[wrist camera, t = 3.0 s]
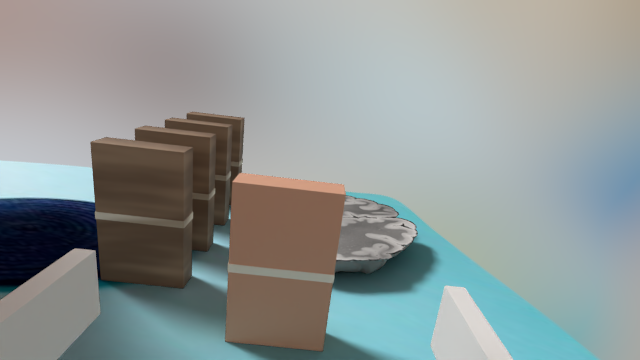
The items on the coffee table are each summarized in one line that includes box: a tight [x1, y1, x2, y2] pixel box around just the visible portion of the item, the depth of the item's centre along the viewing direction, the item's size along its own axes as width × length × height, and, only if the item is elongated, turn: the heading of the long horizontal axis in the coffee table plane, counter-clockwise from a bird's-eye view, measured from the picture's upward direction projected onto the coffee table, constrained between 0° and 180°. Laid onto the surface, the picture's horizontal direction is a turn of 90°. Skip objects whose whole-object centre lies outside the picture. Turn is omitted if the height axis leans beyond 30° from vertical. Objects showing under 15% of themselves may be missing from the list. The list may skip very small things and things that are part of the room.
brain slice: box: [335, 195, 418, 274], centre depth 43 cm, size 20×17×3 cm
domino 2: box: [135, 126, 216, 251], centre depth 35 cm, size 2×7×12 cm, turn 89°
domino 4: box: [187, 112, 244, 205], centre depth 48 cm, size 2×7×12 cm, turn 90°
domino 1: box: [91, 137, 193, 288], centre depth 29 cm, size 2×7×12 cm, turn 89°
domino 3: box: [165, 118, 232, 225], centre depth 42 cm, size 2×7×12 cm, turn 90°
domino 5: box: [225, 173, 346, 351], centre depth 24 cm, size 2×7×12 cm, turn 89°
